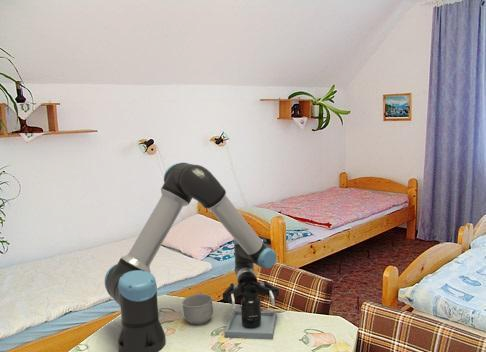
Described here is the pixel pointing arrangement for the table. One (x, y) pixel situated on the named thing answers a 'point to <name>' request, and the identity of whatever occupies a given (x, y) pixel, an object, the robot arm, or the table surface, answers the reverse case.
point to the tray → (261, 332)
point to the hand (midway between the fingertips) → (253, 303)
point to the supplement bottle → (251, 309)
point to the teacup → (198, 308)
